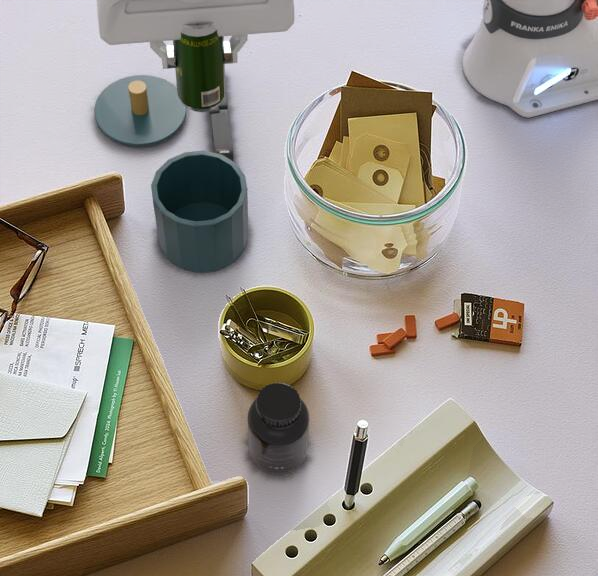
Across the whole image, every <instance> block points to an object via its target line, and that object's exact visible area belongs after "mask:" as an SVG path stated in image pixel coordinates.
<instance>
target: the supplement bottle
mask: <svg viewBox="0 0 598 576" xmlns="http://www.w3.org/2000/svg"><path fill="white" fill-rule="evenodd" d="M246 421H247V423H246V424H247V442H248V453H249V456H250V459H251V461H252V463H254V464H255V465H256V466H257V468H259V469H260V470H262V471H264V472H265V473H268V474H272V475H284V474H288V473H291V472H293V471H295V470H296V469H298V468H299V467H300V466H301V465H302V463H304V461H305V459H306V456H307V453H308V446H309V433H310V413H309V409H308V406H307V404H306V403H305V402H304V400H303V399H302V398H301V397H300V393H298V390H297V389H295V387H293V386H292V385H290V384H288V383H284V382H278V381H277V382H272V383H269V384H267V385H265V386H264V387H263V388H262V389H261V390H260V391H259V393H257V397H256V398H255V399H254V400H253V401H252V403H251V404H250V406H249V408H248V410H247V420H246Z"/></svg>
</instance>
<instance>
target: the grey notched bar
mask: <svg viewBox="0 0 598 576" xmlns="http://www.w3.org/2000/svg"><path fill="white" fill-rule="evenodd" d="M208 113H209V118H210V127H211V128H210V130H211V137H212V146H213V153H217V154H222V155H223V156H225V157H227V158H228V159H230V160H232V161H233V162H235V158H234V156H235V155H234V148H233V147H234V146H233V141H232V131H231V123H230V115H229V107H228V97H227V90H226V88H225V96H224V98H223V100H222V101H221V103H220V105H219V106H217V107H216V108H215V109H213V110H210V111H208Z"/></svg>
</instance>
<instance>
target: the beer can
mask: <svg viewBox="0 0 598 576" xmlns="http://www.w3.org/2000/svg"><path fill="white" fill-rule="evenodd" d="M196 24H197V26H196V25H189V24H183V26H184V27H185V28H184V29H183V30H182V31H181V39H180V40H172V45H173V48H174V53H175V57H176V68H174V69H175V81H176V82H175V83H176V88H177V93H178V97H179V99H180V100H181V102H182V103H183V104H184V106H186V109H188V110H191V111H193V112H197V113H205V112H206V113H207V112H209V111H210V110H213V109H215V108H216V107H217V106H219V105H220V103H221V101H222V100H223V98H224V96H225V89H226V72H225V71H226V67H225V66H226V64H224V41H225V36H221V37H219V36H218V34H217V29H216V28H215V27H214V26H213V24H214V22H210V23H207V24H204V25H198V23H196Z"/></svg>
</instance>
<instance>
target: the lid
mask: <svg viewBox="0 0 598 576" xmlns="http://www.w3.org/2000/svg"><path fill="white" fill-rule="evenodd" d="M186 116H187V107H186V106H184V104H183V103H182V102H181V100H180V99H179V97H178V93H177V86H176V85H174V84H173V83H171V82H170V81H168V80H166V79H164V78H161V77H157V76H154V75H148V74H147V75H146V74H140V75H138V74H137V75H129V76H125V77H123V78H120V79H118V80H115V81H114V82H112V83H110V84H108V86H106V87H105V88H104V89H103V90H102V91H101V92H100V94H99V95H98V97H97V99H96V101H95V104H94V119H95V121H96V124H97V127H98V128H99V129H100V131H101V132H102V133H103V134H104V135H105V136H106V137H108V138H109V139H111V140H112V141H114V142H116V143H118V144H121V145H125V146H130V147H147V146H154V145H157V144H160V143H162V142H165V141H166V140H169V139H170V138H171V137H173V136H174V135H175V134H177V132H179V131H180V129H181V128H182V127H183V124H184V122H185V121H186Z"/></svg>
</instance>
